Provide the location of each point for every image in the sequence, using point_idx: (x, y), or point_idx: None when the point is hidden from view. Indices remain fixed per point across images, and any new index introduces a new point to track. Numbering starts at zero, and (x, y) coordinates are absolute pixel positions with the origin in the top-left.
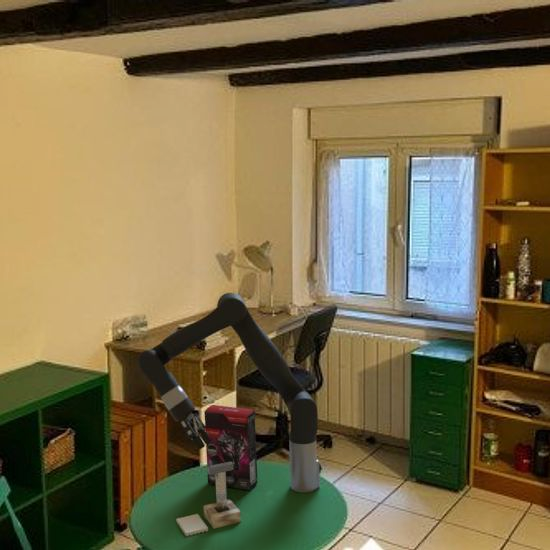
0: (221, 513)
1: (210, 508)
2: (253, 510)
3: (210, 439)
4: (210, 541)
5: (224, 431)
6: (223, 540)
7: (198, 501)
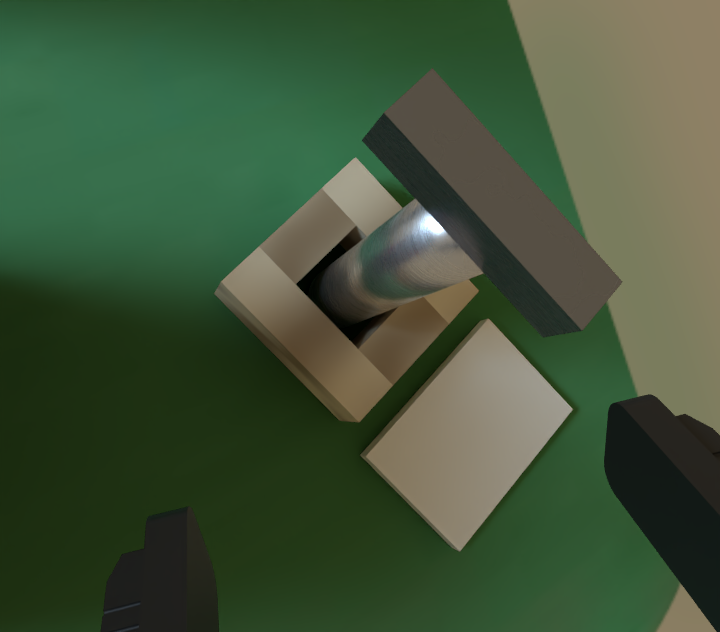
0: None
1: (378, 360)
2: (178, 148)
3: (173, 521)
4: None
5: None
6: None
7: None
